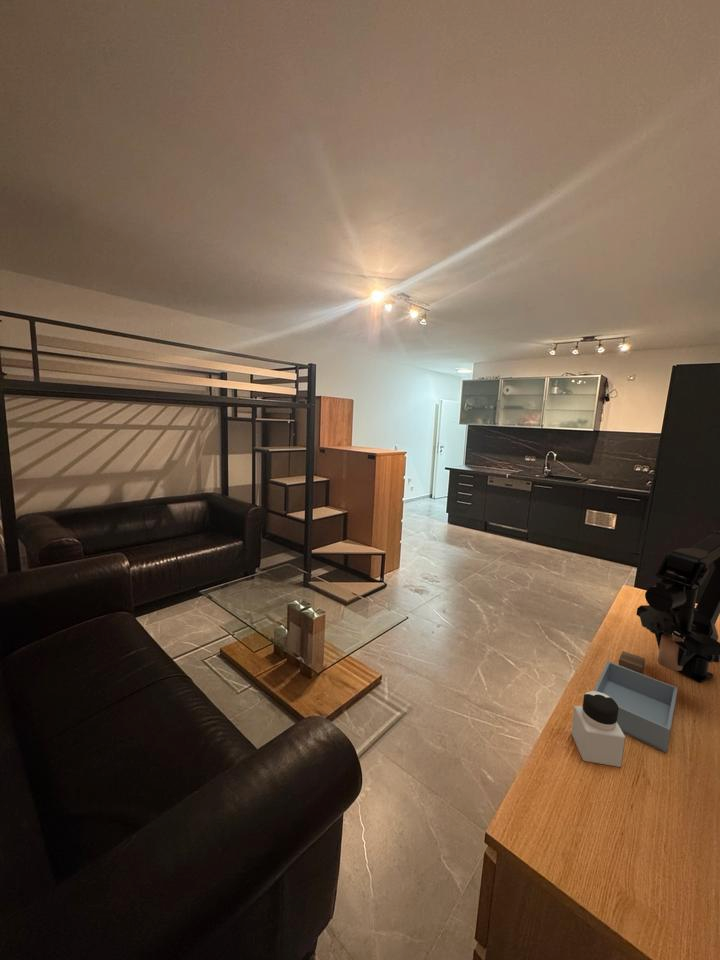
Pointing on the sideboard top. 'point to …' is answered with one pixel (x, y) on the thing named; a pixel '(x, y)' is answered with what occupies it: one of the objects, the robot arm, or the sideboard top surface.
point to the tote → (640, 704)
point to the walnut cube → (632, 662)
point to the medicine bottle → (598, 730)
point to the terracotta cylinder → (669, 652)
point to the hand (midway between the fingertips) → (670, 658)
